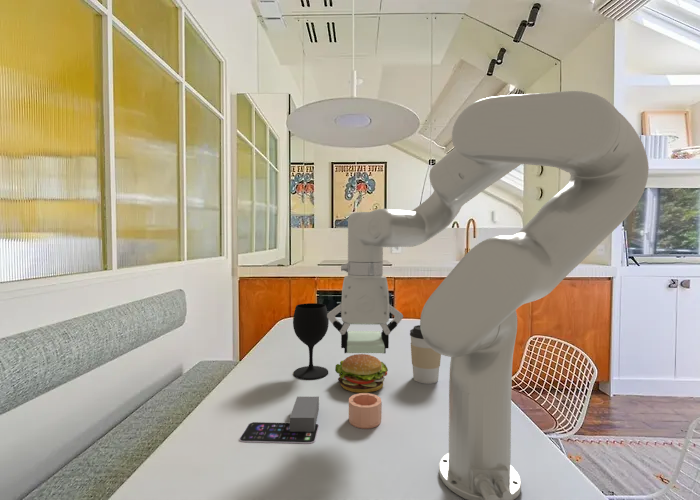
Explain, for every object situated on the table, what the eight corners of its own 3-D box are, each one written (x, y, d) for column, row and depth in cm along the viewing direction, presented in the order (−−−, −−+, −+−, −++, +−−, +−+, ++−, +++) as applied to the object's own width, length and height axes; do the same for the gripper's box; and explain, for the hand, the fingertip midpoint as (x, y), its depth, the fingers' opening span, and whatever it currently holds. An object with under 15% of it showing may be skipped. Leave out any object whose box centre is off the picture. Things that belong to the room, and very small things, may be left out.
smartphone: (314, 442, 69) (237, 441, 70) (314, 445, 69) (237, 444, 70) (319, 423, 77) (249, 421, 77) (319, 425, 77) (249, 424, 78)
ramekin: (382, 428, 75) (382, 407, 75) (348, 428, 75) (348, 407, 75) (379, 412, 82) (380, 393, 82) (349, 412, 82) (349, 393, 82)
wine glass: (285, 375, 104) (285, 307, 104) (306, 365, 114) (306, 301, 113) (316, 382, 99) (316, 310, 99) (335, 370, 109) (335, 304, 108)
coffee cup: (443, 386, 97) (443, 330, 97) (408, 383, 99) (409, 329, 98) (441, 374, 106) (441, 323, 105) (410, 372, 108) (410, 321, 107)
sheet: (384, 353, 72) (384, 346, 72) (347, 353, 72) (347, 346, 72) (380, 337, 84) (380, 331, 84) (347, 337, 84) (347, 331, 84)
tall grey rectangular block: (314, 432, 73) (314, 417, 73) (289, 432, 73) (289, 417, 73) (318, 409, 83) (318, 396, 83) (297, 409, 83) (297, 396, 83)
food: (396, 381, 100) (397, 353, 100) (370, 400, 89) (370, 368, 88) (355, 371, 108) (355, 345, 108) (326, 387, 96) (326, 357, 96)
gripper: (323, 271, 74) (323, 356, 74) (408, 271, 74) (407, 357, 74) (326, 268, 81) (325, 346, 82) (403, 268, 81) (402, 346, 82)
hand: (364, 350), depth 78 cm, fingers closed on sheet, 7 cm apart
